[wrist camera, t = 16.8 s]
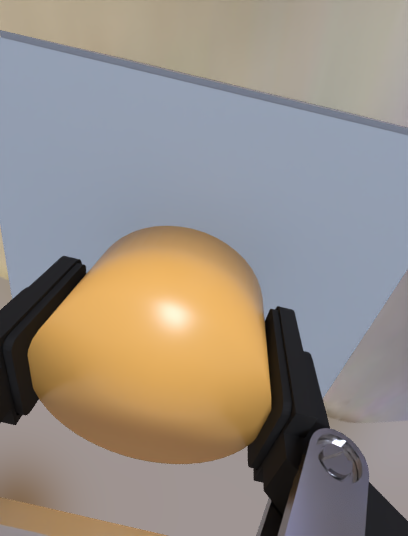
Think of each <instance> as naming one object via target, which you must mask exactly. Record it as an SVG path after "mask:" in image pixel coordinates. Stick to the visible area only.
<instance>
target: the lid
mask: <svg viewBox="0 0 408 536" xmlns="http://www.w3.org/2000/svg"><path fill="white" fill-rule="evenodd" d="M0 225H1V232H2V238H3V244H4V251H5V257H6V263H7V269H8V276H9V282H10V288H11V295H12V299H13V298H14V297H15V296H16V295H18V294H19V293H20V292H21V291H22V290H23V289H25V288H26V287H29V286H30V285H31V284H32V283H33V282H34V281H35V280H37V279H38V278H39V277H40V276H41V275H42V274H43V273H44V272H45V271H46V270H47V269H49V268H50V267H51V266H52V265H53V264H54V263H55V262H56V261H57V260H58V259H59V258H61V257H62V256H68V257H72V258H76V259H80V260H81V262H82V264H84V265H85V266H86V274H87V273H88V272H89V270H90V269H91V268H92V267H93V266H94V265H95V263H96V262H97V261H98V260H99V259H100V257H101V256H102V255H103V254H104V253H105V252H106V250H107V249H108V248H109V247H110V246H111V245H112V244H114V243H115V242H116V241H118V240H119V239H120V238H122V237H124V236H126V235H128V234H130V233H131V232H134V231H137V230H140V229H144V228H149V227H154V226H180V227H186V228H191V229H195V230H198V231H201V232H205V233H207V234H209V235H211V236H214V237H216V238H218V239H219V240H221V241H223V242H224V243H226V244H228V245H229V246H230V247H231V248H233V249H234V250H235V251H237V252H238V253H239V254H240V255H241V256H242V257H243V258H244V259H245V260H246V262H247V263H248V264H249V266H250V267H251V268H252V270H253V272H254V274H255V275H256V277H257V279H258V282H259V285H260V288H261V292H262V297H263V307H264V319H265V320H266V317H267V315H268V313H269V310H270V309H274V310H275V308H276V307H277V306H280V307H284V308H288V309H292V310H294V312H295V316H296V320H297V325H298V329H299V333H300V338H301V342H302V347H303V351H306V352H309V353H310V354H311V356H312V359H313V363H314V367H315V371H316V375H317V379H318V383H319V387H320V391H321V395H322V399H323V397H324V396H325V394H326V393H327V391H328V390H329V388H330V387H331V385H332V384H333V382H334V381H335V379H336V378H337V376H338V375H339V373H340V371H341V370H342V368H343V367H344V365H345V364H346V362H347V361H348V359H349V358H350V356H351V355H352V353H353V352H354V350H355V349H356V347H357V346H358V344H359V343H360V341H361V339H362V338H363V336H364V335H365V333H366V332H367V330H368V329H369V327H370V326H371V324H372V323H373V321H374V320H375V318H376V317H377V315H378V314H379V312H380V311H381V309H382V308H383V306H384V304H385V303H386V301H387V300H388V298H389V297H390V295H391V294H392V292H393V291H394V289H395V288H396V286H397V285H398V283H399V282H400V280H401V279H402V277H403V276H404V274H405V272H406V271H407V269H408V135H404V134H400V133H396V132H392V131H388V130H383V129H379V128H375V127H371V126H367V125H363V124H358V123H354V122H350V121H346V120H342V119H338V118H334V117H329V116H325V115H321V114H317V113H313V112H309V111H304V110H300V109H296V108H292V107H288V106H284V105H280V104H275V103H271V102H267V101H263V100H259V99H255V98H250V97H246V96H242V95H238V94H234V93H230V92H226V91H221V90H217V89H213V88H209V87H205V86H201V85H196V84H192V83H188V82H184V81H180V80H176V79H172V78H167V77H163V76H159V75H155V74H151V73H147V72H142V71H138V70H134V69H130V68H126V67H122V66H118V65H113V64H109V63H105V62H101V61H97V60H93V59H88V58H84V57H80V56H76V55H72V54H68V53H64V52H59V51H55V50H51V49H47V48H43V47H39V46H34V45H30V44H26V43H22V42H18V41H14V40H10V39H5V38H1V37H0Z"/></svg>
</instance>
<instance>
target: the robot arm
mask: <svg viewBox="0 0 408 536" xmlns="http://www.w3.org/2000/svg"><path fill="white" fill-rule="evenodd" d="M85 275H86V266H85V265H84V264H82V262H81V260H80V259H76V258H72V257H68V256H62V257H61V258H59V259H58V260H57V261H56V262H55V263H54V264H53V265H52V266H51V267H50V268H49V269H47V270H46V271H45V272H44V273H43V274H42V275H41V276H40V277H39V278H38V279H37V280H35V281H34V282H33V283H32V284H31V285H30V286H29V287H26V288H25V289H23V290H22V291H21V292H20V293H19V294H18V295H16V296H15V297H14V298H13V299H12V300H11V301H10V302H9V303H8V304H7V305H5V306H4V307H3V308H2V309H1V310H0V423H1V422H4V423H8V424H13V425H16V424H17V422H18V421H19V419H20V417H21V416H22V415H27V414H29V413H30V411H31V410H32V408H33V407H34V406H35V404H36V403H37V401H38V399H39V398H38V396H37V394H36V393H35V391H34V389H33V385H32V379H31V373H30V367H29V361H28V349H29V347H30V344H31V341H32V339H33V338H34V336H35V335H36V333H37V332H38V330H39V329H40V328H41V327H42V326H43V324H44V323H45V322H46V321H47V320H48V318H49V317H50V316H51V315H52V314H53V313H54V311H55V310H56V309H57V308H58V307H59V306H60V304H61V303H62V302H63V301H64V300H65V299H66V297H67V296H68V295H69V294H70V293H71V291H72V290H73V289H74V288H75V287H76V286H77V284H78V283H79V282H80V281H81V280H82V279H83V277H84V276H85ZM265 330H266V342H267V353H268V365H269V376H270V388H271V412H270V414H269V416H268V417H267V419H266V421H265V423H264V425H263V427H262V428H261V430H260V432H259V434H258V436H257V437H256V439H255V440H254V441H253V442H252V443H251V444H249V445H248V466H249V467H251V468H254V480H255V481H259V482H263V483H264V491H265V493H266V494H267V495H268V497H269V499H268V502H267V505H266V508H265V511H264V514H263V517H262V520H261V523H260V526H259V529H258V532H257V535H256V536H408V521H407V520H406V519H405V518H404V517H403V516H402V515H401V514H400V513H399V512H398V511H397V510H396V509H395V508H394V507H393V506H392V505H391V504H390V503H389V502H388V501H387V500H386V499H385V498H384V497H383V496H382V495H381V494H380V493H379V492H378V491H377V490H376V489H375V488H374V487H373V486H372V484H371V483H370V482H369V471H368V465H367V463H366V460H365V457H364V456H363V454H362V453H361V451H360V450H359V448H358V447H357V446H356V445H355V444H354V443H353V441H352V440H350V439H349V438H348V437H346V436H345V435H344V434H342V433H340V432H338V431H336V430H334V429H330V426H329V423H328V418H327V414H326V410H325V406H324V403H323V399H322V395H321V391H320V387H319V383H318V379H317V375H316V371H315V367H314V363H313V359H312V356H311V354H310V353H309V352H306V351H303V347H302V342H301V338H300V333H299V329H298V325H297V320H296V316H295V312H294V310H292V309H288V308H284V307H280V306H277V307H276V308H275V310H274V309H270V310H269V313H268V315H267V317H266V320H265ZM0 536H167V535H162V534H158V533H154V532H149V531H145V530H141V529H136V528H132V527H128V526H123V525H119V524H115V523H110V522H106V521H102V520H97V519H93V518H89V517H84V516H80V515H75V514H71V513H67V512H63V511H58V510H54V509H50V508H45V507H41V506H36V505H32V504H28V503H23V502H19V501H14V500H10V499H6V498H1V497H0Z"/></svg>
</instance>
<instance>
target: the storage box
mask: <svg viewBox="0 0 408 536" xmlns="http://www.w3.org/2000/svg"><path fill="white" fill-rule="evenodd" d="M0 36H1V38H5V39H10V40H14V41H18V42H22V43H26V44H30V45H34V46H39V47H43V48H47V49H51V50H55V51H59V52H64V53H68V54H72V55H76V56H80V57H84V58H88V59H93V60H97V61H101V62H105V63H109V64H113V65H118V66H122V67H126V68H130V69H134V70H138V71H142V72H147V73H151V74H155V75H159V76H163V77H167V78H172V79H176V80H180V81H184V82H188V83H192V84H196V85H201V86H205V87H209V88H213V89H217V90H221V91H226V92H230V93H234V94H238V95H242V96H246V97H250V98H255V99H259V100H263V101H267V102H271V103H275V104H280V105H284V106H288V107H292V108H296V109H300V110H304V111H309V112H313V113H317V114H321V115H325V116H329V117H334V118H338V119H342V120H346V121H350V122H354V123H358V124H363V125H367V126H371V127H375V128H379V129H383V130H388V131H392V132H396V133H400V134H404V135H408V128H407V127H403V126H399V125H395V124H392V123H388V122H384V121H380V120H376V119H372V118H368V117H364V116H360V115H356V114H352V113H348V112H343V111H339V110H335V109H331V108H327V107H323V106H318V105H314V104H310V103H306V102H302V101H298V100H294V99H289V98H285V97H281V96H277V95H273V94H269V93H265V92H260V91H256V90H252V89H248V88H244V87H240V86H235V85H231V84H227V83H223V82H219V81H215V80H211V79H206V78H202V77H198V76H194V75H190V74H186V73H181V72H177V71H173V70H169V69H165V68H161V67H157V66H152V65H148V64H144V63H140V62H136V61H132V60H127V59H123V58H119V57H115V56H111V55H106V54H102V53H98V52H93V51H89V50H85V49H80V48H76V47H71V46H67V45H63V44H58V43H54V42H50V41H45V40H41V39H36V38H32V37H28V36H23V35H19V34H15V33H10V32H6V31H1V30H0Z"/></svg>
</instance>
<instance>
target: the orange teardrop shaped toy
mask: <svg viewBox="0 0 408 536" xmlns="http://www.w3.org/2000/svg"><path fill="white" fill-rule="evenodd" d="M28 361H29V367H30V373H31V379H32V385H33V389H34V391H35V393H36V394H37V396H38V398H39V399H40V401H41V402H42V403H43V404H44V406H45V407H46V408H47V409H48V411H50V413H51V414H52V415H53V416H54V417H55V418H56V419H58V420H59V421H60V422H61V423H62V424H63V425H65V426H66V427H67V428H69V429H70V430H72V431H73V432H74V433H76V434H77V435H79V436H81V437H83V438H84V439H86V440H88V441H90V442H92V443H94V444H96V445H98V446H100V447H102V448H105V449H107V450H110V451H112V452H115V453H118V454H121V455H124V456H127V457H131V458H135V459H139V460H145V461H150V462H157V463H167V464H168V463H169V464H192V463H202V462H208V461H213V460H217V459H220V458H224V457H226V456H229V455H231V454H234V453H236V452H238V451H240V450H242V449H244V448H245V447H246V446H248V445H249V444H251V443H252V442H253V441H254V440H255V439H256V437H257V436H258V434H259V432H260V430H261V428H262V427H263V425H264V423H265V421H266V419H267V417H268V416H269V414H270V412H271V388H270V376H269V365H268V353H267V342H266V330H265V319H264V307H263V297H262V292H261V288H260V285H259V282H258V279H257V277H256V275H255V274H254V272H253V270H252V268H251V267H250V266H249V264H248V263H247V262H246V260H245V259H244V258H243V257H242V256H241V255H240V254H239V253H238V252H237V251H235V250H234V249H233V248H231V247H230V246H229V245H228V244H226V243H224V242H223V241H221V240H219V239H218V238H216V237H214V236H211V235H209V234H207V233H205V232H201V231H198V230H195V229H191V228H186V227H180V226H154V227H149V228H144V229H140V230H137V231H134V232H131V233H130V234H128V235H126V236H124V237H122V238H120V239H119V240H118V241H116V242H115V243H114V244H112V245H111V246H110V247H109V248H108V249H107V250H106V252H105V253H104V254H103V255H102V256H101V257H100V259H99V260H98V261H97V262H96V263H95V265H94V266H93V267H92V268H91V269H90V270H89V272H88V273H87V274H86V275H85V276H84V277H83V279H82V280H81V281H80V282H79V283H78V284H77V286H76V287H75V288H74V289H73V290H72V291H71V293H70V294H69V295H68V296H67V297H66V299H65V300H64V301H63V302H62V303H61V304H60V306H59V307H58V308H57V309H56V310H55V311H54V313H53V314H52V315H51V316H50V317H49V318H48V320H47V321H46V322H45V323H44V324H43V326H42V327H41V328H40V329H39V330H38V332H37V333H36V335H35V336H34V338H33V339H32V341H31V344H30V347H29V349H28Z"/></svg>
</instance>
